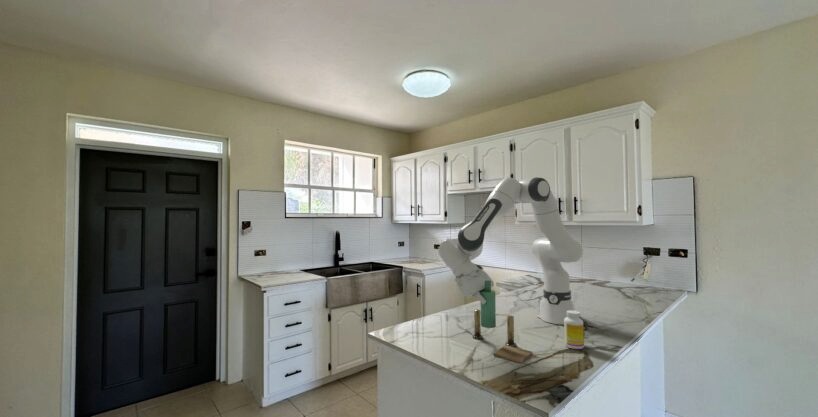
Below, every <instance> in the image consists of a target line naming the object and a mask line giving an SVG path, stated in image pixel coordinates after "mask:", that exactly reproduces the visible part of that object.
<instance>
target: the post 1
mask: <svg viewBox="0 0 818 417" xmlns="http://www.w3.org/2000/svg"><path fill="white" fill-rule="evenodd" d="M473 314H474V315H473V316H474V317H473V318H474V321H473V322H474V334H472V339H475V340H482V339H483V335H482V334H481V331H482V329H481V327H482V326H481V309H478V308H477V309H474V313H473Z"/></svg>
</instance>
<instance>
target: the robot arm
mask: <svg viewBox="0 0 818 417" xmlns="http://www.w3.org/2000/svg"><path fill="white" fill-rule="evenodd" d="M515 204H531V207H532V212H533V216H534V220H535V224H536V227H537V229H538V230H539V232H540V233H542V234H543V235H544V236H545V237H541V238H536V239H535V240H534V241H533V243H532V245H531V251H532V253H533V255H534V257H536V258H537V260H538V261H539V264H540V266H541V269H542V273H543V287H544V289H543V290H542V291H543V292H542V294H543V298H542V299H541V300H540V303H539V304H540V306H539V307H540V309H539V314H536V317H537V318H539V319H540V320H542V321H543V322H545V323H549V324H553V325H563V326H564V319H565V318H566V317H567V311H569V310H572V311H576V310H575V306H576V305H575V303H574V302H573V301H572V291H571V289H570V288H571V287H570V274H569V273H568V271H567V270H565V269H564V267H563V265H562V263H568V264H569V263H576V262H578V261H580V260H581V258H582V257H583V254H584V252H583V250H584V249H583V247H582V245H581V243H580V242H579V241H578V240H576V239H575V238H573V237H572V236H571V234H570V233H569V232H568V231H567V229H566V227H565V226H564V223H563V219H562V217H561V214H560V211H559V207H558V204H557V200H556V198H555V196H554V194H553V192H552V190H551V186H550V184H549V182H548V181H547V180H546V179H545V178H543V177H536V176H535V177H531V178H529V177H528V178H524V179H520V180H517V179H516V178H513V177H504V178H502V180H501V181H500V182H499V183H498V184H496V186H495V187H494V188H493V189H492V191H491V192H490V194H489V196H488V198H487V199H486V201H485V203H484V205H483V206H482V208H481V209H480V210H479V212H478V213H477V214H476V215H475V217H474V218H473V219H472V220H471V221H470V222H468V223H467V224H464V225H463V226H462V227H461V228H460V229H459V230H458V234H457V237H456V238H449V237H448V238H445V239H444V240H442V241H441V243H440V245H439V246H438V250H437V251H438V252H437V253H438V254H439V257H440V258H441V260H442V261H443V262H444V264H445V265H446V267H448V268H450V270H451V271H452V274H453V276H454V280H455V282H456V287H457V288H458V289H459V291H460V292H461V294H462V295H463V297H465V298H466V299H469V298H471V297H474V298H475V299H476V300H478V301H479V302H480V304H481V303H482V304H485V303H486V302H487V300H486V298H483V297H482V296H481V295H480V291H481V290H485V280H489V281H491V289H492V288H493V287H494V286H495V283H494V280H492V278H491V277H490V276H489V274H488V273H487V272H486V271H485V270H484V267H483V266H482V265H480V264H476V263H475V262H472V260H474V259H476V258H478V257H479V256H481V255H482V252H483V247H484V245H483V244H484V240H485V233H486V230H487V229H488V227H489V226H490V224H491V223H492V222H493V220H494V219H495V218H499V219H500V218H504V217H506V215H507V214H508V213H509V212H510V211H511V210H512V208H513V207H514V206H515Z"/></svg>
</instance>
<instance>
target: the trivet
mask: <svg viewBox="0 0 818 417" xmlns="http://www.w3.org/2000/svg"><path fill="white" fill-rule="evenodd" d="M532 354H533V351H531V350H527V349H523V348H520V347H519V348H518V347H511V346H507V345H503V346H502V347H500V348H498V349H497V351H495V352H493V357H497V358H499V359H500V358H501V359H504V360H507V361H513V362H515V363H518V364H523V363H524V362H526V360H527V359H528V358H529V357H531V355H532Z"/></svg>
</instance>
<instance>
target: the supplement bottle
mask: <svg viewBox="0 0 818 417" xmlns="http://www.w3.org/2000/svg"><path fill="white" fill-rule="evenodd" d="M563 329H564V330H563V332H564V334H563V337H564V338H563V339H564V340H563V341H564V346H566V347H567V348H570V349H573V350H582V349H583V348H584V347H585V336H584V335H585V332H584V331H585V329H584V321H583V319H582V318H581V312H580V311H577V310H575V311H572V310H569V311H567V317H566V318H565V319H564V325H563Z"/></svg>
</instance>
